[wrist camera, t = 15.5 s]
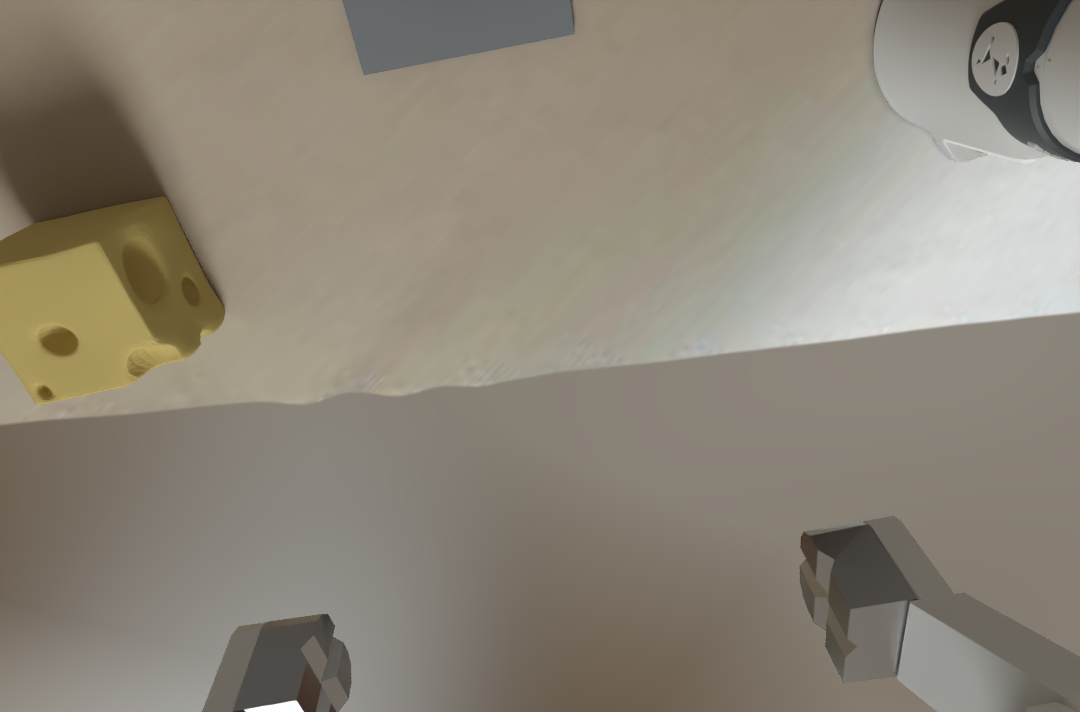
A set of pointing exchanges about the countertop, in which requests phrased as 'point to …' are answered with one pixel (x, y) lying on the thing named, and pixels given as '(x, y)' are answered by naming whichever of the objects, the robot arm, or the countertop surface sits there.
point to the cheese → (101, 299)
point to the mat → (448, 28)
